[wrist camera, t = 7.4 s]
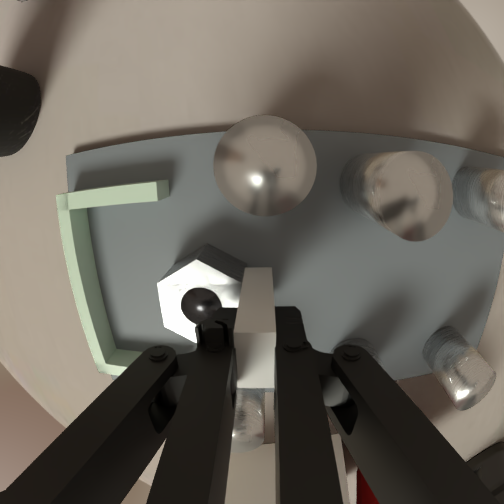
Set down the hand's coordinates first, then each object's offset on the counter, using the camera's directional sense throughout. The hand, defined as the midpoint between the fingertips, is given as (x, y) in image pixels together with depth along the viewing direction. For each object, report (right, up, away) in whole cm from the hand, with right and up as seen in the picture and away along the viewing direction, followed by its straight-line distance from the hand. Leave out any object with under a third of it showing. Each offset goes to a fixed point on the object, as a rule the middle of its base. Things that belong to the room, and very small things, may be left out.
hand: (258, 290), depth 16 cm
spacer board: (+4, 0, +2) cm, 4 cm away
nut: (-3, 0, +1) cm, 3 cm away
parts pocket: (-8, 0, +2) cm, 9 cm away
